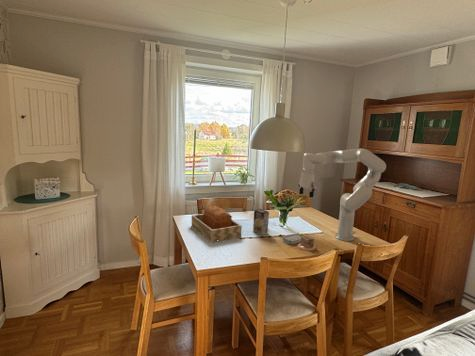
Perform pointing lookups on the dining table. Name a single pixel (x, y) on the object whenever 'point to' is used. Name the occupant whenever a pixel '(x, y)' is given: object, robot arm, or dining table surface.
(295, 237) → the push bar
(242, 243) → the dining table surface
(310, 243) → the walnut block
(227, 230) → the bread crate
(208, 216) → the bread
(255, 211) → the coffee box
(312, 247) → the coaster
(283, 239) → the channel
